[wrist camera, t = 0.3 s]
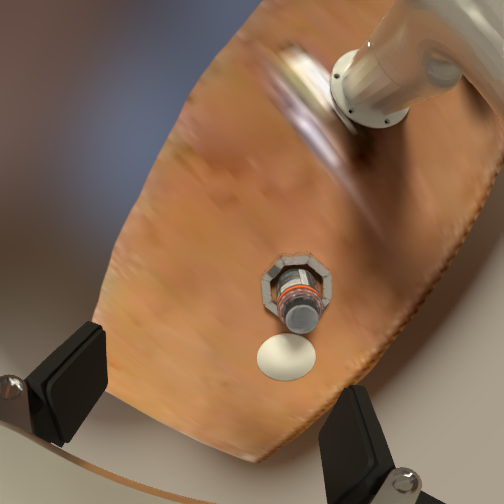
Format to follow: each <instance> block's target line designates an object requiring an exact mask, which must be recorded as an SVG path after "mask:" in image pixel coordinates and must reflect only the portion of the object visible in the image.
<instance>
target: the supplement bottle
mask: <svg viewBox="0 0 504 504" xmlns="http://www.w3.org/2000/svg"><path fill="white" fill-rule="evenodd" d="M277 313H278V316H279V319H280V320H281V322H282V323H283V324H284V325H285V326H287V327H288V329H289V330H291V331H292V332H294V333H297V334H305V333H308V332H310V331H312V330H313V329H314V328H315V327H316V326H317V324H318V321H319V319H320V318H321V316H322V313H323V302H322V299H321V296H320V293H319V290H318V287H317V284H316V281H315V279H314V277H313V276H312V274H311V273H310V272H309V271H307V270H305V269H302V268H292V269H289V270H287V271H285V272H284V273H283V274H282V275H281V276H280V278H279V280H278V283H277Z"/></svg>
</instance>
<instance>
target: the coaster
mask: <svg viewBox="0 0 504 504" xmlns="http://www.w3.org/2000/svg"><path fill="white" fill-rule="evenodd" d="M315 358H316V355H315V350H314V347H313V345H312V344H311V342H310V341H309V340H307V339H306V338H305V337H303V336H301V335H298V334H294V333H281V334H277V335H274V336H272V337H270V338H268V339H267V340H266V341H264V342H263V343H262V345H261V346H260V348H259V350H258V354H257V363H258V366H259V368H260V369H261V371H262V372H263V373H264V374H265V375H267V376H268V377H270V378H273V379H276V380H281V381H289V380H295V379H298V378H300V377H302V376H304V375H305V374H307V373H308V372H309V371H310V370H311V369H312V367H313V365H314V363H315Z"/></svg>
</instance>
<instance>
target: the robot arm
mask: <svg viewBox="0 0 504 504" xmlns="http://www.w3.org/2000/svg"><path fill="white" fill-rule="evenodd" d="M462 75H464V76H465V77H466V78H467V79H468V81H469V82H470V83H472V84H473V85H474V87H475V88H476V89H477V90H478V92H479V93H480V94H481V95H482V97H483V98H484V99H485V100H486V102H487V103H488V104H489V106H490V107H491V108H492V110H493V111H494V113H495V114H496V115H497V117H498V118H499V120H500V121H501V123H502V124H503V125H504V0H394V1H393V3H392V5H391V7H390V8H389V10H388V11H387V13H386V14H385V16H384V17H383V18H382V20H381V21H380V22H379V24H378V25H377V26H376V28H375V29H374V31H373V32H372V33H371V35H370V36H369V37H368V39H367V40H366V41H365V43H364V44H363V45H362V47H361V48H360V49H357V50H353V51H350V52H348V53H346V54H344V55H343V56H341V57H340V58H339V59H338V61H337V62H336V63H335V65H334V67H333V69H332V72H331V75H330V87H331V92H332V95H333V98H334V100H335V102H336V104H337V105H338V107H339V108H340V109H341V111H342V112H343V113H344V114H345V115H346V116H347V117H349V118H350V119H351V120H353V121H354V122H356V123H358V124H360V125H362V126H366V127H369V128H377V129H379V128H386V127H390V126H392V125H395V124H397V123H398V122H400V121H401V120H402V119H403V118H404V117H405V116H406V114H407V112H408V110H409V108H410V107H411V106H413V105H416V104H418V103H421V102H424V101H426V100H429V99H431V98H434V97H436V96H439V95H442V94H444V93H446V92H448V91H450V90H451V89H453V88H454V87H455V86H456V85H457V83H458V82H459V80H460V79H461V77H462ZM334 77H337V79H336V78H334ZM349 110H350V111H351V112H352V113H349ZM384 121H386V124H385V122H384ZM107 384H108V375H107V357H106V332H105V331H104V330H103V328H102V326H101V325H98V324H96V323H93V322H90V321H87V322H86V323H85V324H84V325H83V326H82V327H80V328H79V329H78V330H77V331H76V332H75V333H74V334H73V335H72V336H71V337H69V338H68V339H67V340H66V341H65V342H64V343H63V344H62V345H61V346H59V347H58V348H57V349H56V350H55V351H54V352H53V353H52V354H50V355H49V356H48V357H47V358H46V359H45V360H44V361H43V362H42V363H41V364H40V365H39V366H38V367H37V368H36V369H35V370H34V371H33V372H32V373H31V374H30V375H29V376H28V377H27V378H26V379H25V380H23V379H21V378H20V377H18V376H16V375H10V374H8V375H3V376H0V504H215V503H210V502H205V501H201V500H196V499H192V498H187V497H184V496H180V495H176V494H172V493H169V492H165V491H162V490H159V489H155V488H152V487H149V486H146V485H143V484H140V483H137V482H134V481H132V480H129V479H126V478H124V477H121V476H118V475H116V474H113V473H111V472H108V471H106V470H104V469H101V468H99V467H97V466H95V465H92V464H90V463H88V462H86V461H84V460H81V459H80V458H78V457H75V456H73V455H71V454H69V453H67V452H65V451H64V450H62V449H60V448H58V447H56V446H54V445H52V444H51V442H52V443H54V444H56V445H57V446H59V447H62V446H63V445H64V443H65V442H66V443H69V442H70V441H71V439H72V438H73V436H74V434H75V433H76V432H77V430H78V429H79V427H80V426H81V424H82V422H83V421H84V420H85V418H86V417H87V415H88V414H89V412H90V411H91V409H92V408H93V406H94V405H95V403H96V402H97V401H98V399H99V398H100V396H101V395H102V393H103V392H104V391H105V389H106V387H107ZM319 446H320V452H321V459H322V467H323V474H324V482H325V490H326V497H327V503H328V504H445V503H443V502H442V501H440V500H438V499H436V498H434V497H432V496H430V495H428V494H426V493H425V492H423V491H421V488H422V481H421V479H420V477H419V475H418V474H417V473H416V472H414V471H413V470H411V469H409V468H403V467H400V468H396V467H395V465H394V462H393V459H392V456H391V453H390V450H389V448H388V445H387V442H386V439H385V437H384V434H383V431H382V428H381V426H380V423H379V421H378V419H377V416H376V414H375V411H374V409H373V406H372V403H371V401H370V398H369V396H368V393H367V391H366V388H365V387H364V386H358V385H350V386H348V388H344V389H343V391H342V393H341V395H340V397H339V399H338V400H337V402H336V404H335V406H334V408H333V410H332V411H331V413H330V415H329V417H328V418H327V420H326V422H325V424H324V425H323V427H322V429H321V430H320V433H319Z"/></svg>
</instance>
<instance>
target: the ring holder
mask: <svg viewBox="0 0 504 504" xmlns="http://www.w3.org/2000/svg"><path fill="white" fill-rule="evenodd" d="M298 264H308V265H309V266H310V267H312V268H313V269H314V270H315V271H316V272H317V273H319V274H320V275H321V276H322V293H321V294H320V296H321V299H322V302H323V311H324V310H325V309H326V307H325V306H326V305H327V304H328V303H329V302H330V299H331V297H332V275H331V273H330V271H329V269H328V268H327V267H326V266H325V265H324V264H323V263H322V262H320V261H319V260H318V259H317V258H316V257H315V256H313V255H312V254H311V253H309V254H308V252H295V253H282V256H280V255H279V256H278V257H277V258H276V259H275V260H274V261H273V262H272V263H271V264H270V265H269V267H268V268H267V269H266V270H265V271H264V272H263V274H262V278H261V284H262V295H263V304H265V307H266V308H268V309H269V310H270V311H272V312H273V313H274V314H275V315H277V316H278V313H277V300H276V299H274V298H273V297H272V296H271V284H270V281H271V280H272V279H274V278H275V277H276V276H277V275H278V274H279V272H280V271H281V269H282V268H283V267H284V266H285V265H298ZM278 317H279V316H278Z"/></svg>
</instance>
